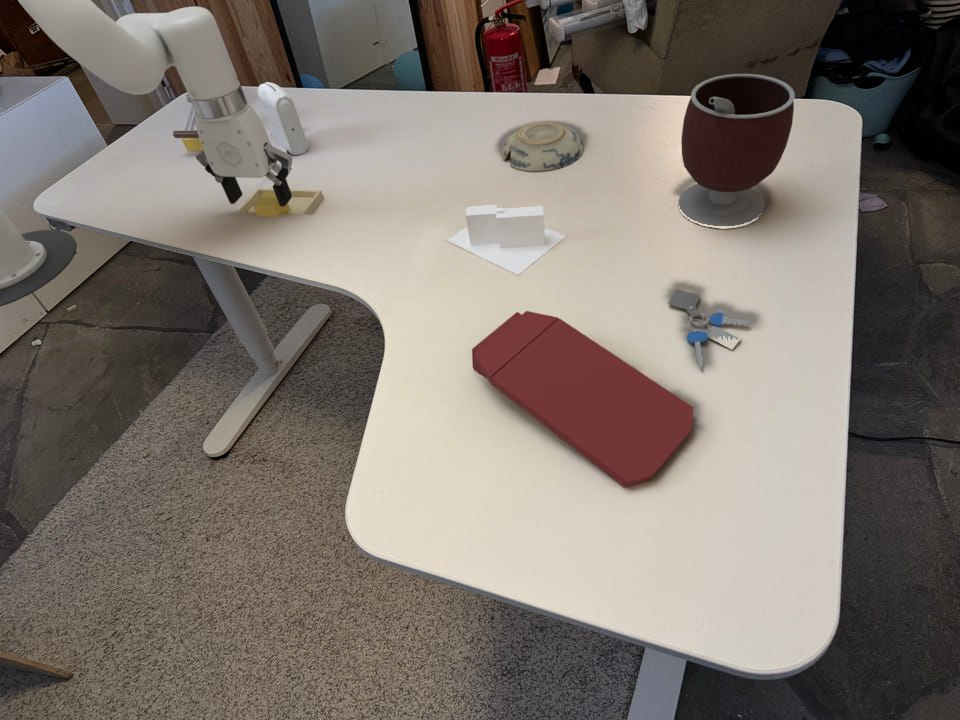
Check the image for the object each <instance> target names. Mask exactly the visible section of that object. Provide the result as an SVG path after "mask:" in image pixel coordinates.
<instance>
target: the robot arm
mask: <svg viewBox="0 0 960 720" xmlns="http://www.w3.org/2000/svg"><path fill="white" fill-rule="evenodd" d="M17 1H18V3H19V5H21V7H22V8H23V9H24V10H25V12H27V14H28V15H29V17H31V18H32V19H33V20H34V22H35V23H36V24H37V25H38V27H39V28H40V29H41V30H42V31H43V32H44V33H45V34H46V35H47V36H48V38H49V39H50V40H51V41H52V42H53V43H55V45H57V47H59V48H60V49H61V50H62V51H63V52H64V53H66V54H67V55H68V56H70V57H71V59H74V61H76V62H78V64H80V65H81V66H82V67H84V68H85V69H87V70H88V71H89V72H90V73H92V74H93V75H94V76H96V77H97V78H99V79H100V80H101V81H103V82H105V83H106V84H108V85H109V86H111V87H112V88H114V89H117V90H119V91H121V92H123V93H126V94H130V95H135V96H137V95H138V96H140V95H146V94H150V93H151V92H154V90H156V89H157V88H158V87H159V86H160V84H161V82H162V81H163V78H164V76H165V73H166V71H167V70H168V69H169V68H171V67H175V68H176V71H177V73H178V75H179V77H180V79H181V81H182V84H183V86H184V88H185V90H186V92H187V94H186V102H188V103H189V104H192V105H193V106H194V108H195V110H196V112H197V113H196V114H195V115H194V118H195V128H196V131H197V132H198V136H199V139H200V142H201V145H202V147H203V150H202V151H199V152H198V153H197V154H196V155H195V159H196V160H197V161H198V162H199V164H200V165H201V166H203V168H204V170H205V171H206V172H207V173H208V174H210V176H212V177H213V178H214V180H215V182H217V183H219V184H220V185H221V187H222V189H223V191H224V193H225V195H226V198H227V200H228V202H229V204H230V205H235V204H237V202H238V201H239V199H240V198H241V197H242V196H243V192H242V189H241V186H240V184H239V183H238V180H237V178H243V179H244V178H245V179H246V178H247V179H255V178H256V179H259V178H264V177H266V178H267V179H268V180H269V181H270V182H271V183H273V185H272V189H273V190H274V192H275V195H276V197H277V200H278V202H279V205H280V206H281V207H285V205H286V204H287V203H288V202H289V201H290V199H291V198H292V195H291V191H290V189H291V188H290V185H289V183H288V180H287V178H288V176H289V174H290V173H291V171H292V169H293V168H292V166H293V160H294V159H293V155H292V154H290V153H288V152H285V151H283V150H281V149H279V148H277V147H275V146H273V145H272V142H271V139H270V137H269V135H268V133H267V131H266V129H265V127H264V125H263V123H262V121H261V119H260V117H259V116H258V114H257V112H256V110H255V109H254V107H253V106H252V105H251V104H249V103H248V101H247V98H246V95H245V93H244V90H243V88H242V85H241V83H240V79H239V77H238V75H237V72H236V70H235V67H234V64H233V62H232V60H231V57H230V54H229V51H228V50H227V47H226V44H225V41H224V38H223V36H222V33H221V31H220V28H219V26H218V23H217V21H216V18H215V16H214V15H213V14H212V12H211V11H210V10H209V9H207V8H205V7H202V6H186V7H181V8H178V9H173V10H171V11H169V12H139V13H135V12H134V13H129V14H126V15H123V16H121V17H120V18H118V19H117V20H116V21H115V20H114V19H112V18H111V17H110V16H109V15H107V14H106V13H105V12H104V11H103V10H102V9H100V8H99V7H98V6H97V5H96V4H95V3H94V2H93V1H92V0H17ZM278 162H279V163H280V165H279V164H278ZM273 171H274V172H273ZM275 173H276V174H275ZM21 234H22V233H21V232H20V231H19V230H18V229H17V228H16V226H15V225H14V224H13V222H11V220H10V219H9V218H8V216H7V215H6V214H5V213H4V211H3V210H2V209H1V208H0V289H3V288H6V287H9V286H11V285H14V284H16V283H18V282H20V281H22V280H24V279H25V278H27V277H29V276H30V275H31V274H33V273H34V272H35V271H36V270H38V269H39V268H40V267H41V265H42V264H43V263H44V261H45V260H46V257H47V251H46V249H45V248H44V246H43V245H42V244H40V243H38V242H35V241H26V240H25V239H24V238H23V236H22V235H21Z"/></svg>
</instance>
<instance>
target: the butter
mask: <svg viewBox="0 0 960 720" xmlns="http://www.w3.org/2000/svg"><path fill="white" fill-rule="evenodd" d="M181 142H182V143H183V146H184V147H185V149H186V151H187V152H201V151H202V150H203V147H202V145H201V142H200V139H199V138H181Z"/></svg>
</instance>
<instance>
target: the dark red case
mask: <svg viewBox="0 0 960 720" xmlns="http://www.w3.org/2000/svg"><path fill="white" fill-rule="evenodd" d="M471 357H472V359H471V361H472V369H474V371H475V372H477V373H478V374H479V375H481V376H482V377H483V378H486V379H487V381H488V382H489V383H490V385H492V386H493V387H494V388H495V389H496V390H498V391H499V392H501V394H503V395H504V396H506V398H508V399H510V400H511V401H512V402H514V404H516V405H517V406H518V407H520V408H521V409H522V410H523V411H525V412H526V413H528V414H529V415H530V416H532V417H533V418H534V419H535V420H536V421H538V422H539V423H540V424H542V425H543V426H544V427H546V428H547V429H548V430H549V431H551V432H552V433H554V434H555V435H556V436H557V437H559V438H560V439H562V440H563V441H564V442H565V443H567V445H569V446H571V447H572V448H573V449H574V450H575V451H577V452H578V453H580V455H582V456H583V457H585V458H586V459H587V460H589V461H590V462H591V463H592V464H594V465H595V466H597V468H599V469H600V470H601V471H603V472H604V473H605V474H606V475H608V476H609V477H610V478H612V479H613V480H615V482H617V483H618V484H620V485H621V486H622V487H624V488H630V487H633V486H637V485H639V484H643V483H647V482H650V481H651V480H652V478H653V477H654V476H655V475H656V474H657V473H658V472H659V470H660V469H661V468H662V467H663V466H664V464H665V463H666V462H667V461H668V460H669V459H670V457H672V455H673V454H674V453H675V451H676V450H678V448H679V447H680V446H681V445H682V444H683V442H684V441H686V439H687V438H688V436H689V435H690V433H691V431H692V430H693V420H694V406H693V405H690V404H689V403H688V402H686V401H685V400H683V399H681V398H680V397H679V396H677V395H676V394H674V393H673V392H671V391H669V389H667V388H665V387H664V386H662V385H661V384H659V383H658V382H657V381H654V380H653V379H651V378H650V377H648V376H647V375H645V374H644V373H642V372H641V371H640V370H638V369H637V368H635V367H634V366H633V365H630V363H627V362H626V361H625V360H623V359H621V358H620V357H618V356H617V355H616V354H614V353H612V352H611V351H610V350H608V349H606V348H605V347H603V346H602V345H600V344H599V343H597V342H596V341H594V340H593V339H591V338H590V337H588V336H587V335H586V334H584V333H582V332H581V331H579V330H578V329H577V328H575V327H573V326H572V325H570V324H569V323H567V322H566V321H564V320H563V319H561V318H559V317H557V316H553V315H548V314H543V313H539V312H534V311H529V310H526V311H524V312H523V313H522V314H521V313H520V312H518V311H516V312H515V313H513V315H511V316H510V317H509V318H508V319H506V320H505V321H504V322H503V323H501V324H500V325H499V326H498V327H497V328H495V329H494V330H493V331H491V333H489V334H488V335H487V336H486V337H484V338H483V339H482V340H481V341H480V342H478V343H476V344H475V346H474V347H472V349H471Z"/></svg>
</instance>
